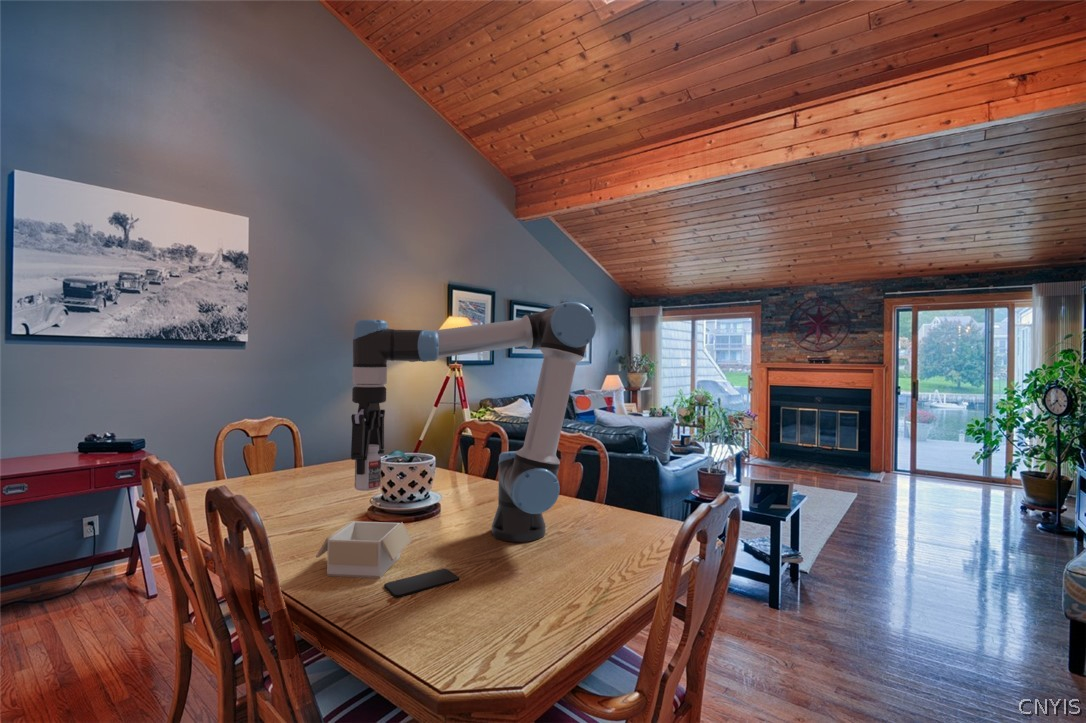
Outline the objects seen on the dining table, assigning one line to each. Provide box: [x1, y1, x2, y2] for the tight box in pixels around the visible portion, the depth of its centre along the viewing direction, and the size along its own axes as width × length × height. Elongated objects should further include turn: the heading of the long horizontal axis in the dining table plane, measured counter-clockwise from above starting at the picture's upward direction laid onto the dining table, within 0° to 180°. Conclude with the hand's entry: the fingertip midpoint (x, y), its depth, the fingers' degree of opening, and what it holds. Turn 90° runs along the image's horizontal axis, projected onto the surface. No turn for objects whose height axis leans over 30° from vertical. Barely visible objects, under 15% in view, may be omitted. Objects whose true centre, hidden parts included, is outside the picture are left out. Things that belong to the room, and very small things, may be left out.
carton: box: [326, 520, 402, 579], centre depth 115 cm, size 12×14×8 cm
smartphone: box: [383, 568, 460, 599], centre depth 106 cm, size 7×1×15 cm
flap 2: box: [381, 521, 413, 561], centre depth 114 cm, size 1×12×5 cm, turn 176°
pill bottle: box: [354, 444, 382, 492], centre depth 115 cm, size 6×6×10 cm
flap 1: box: [315, 520, 354, 558], centre depth 115 cm, size 1×12×5 cm, turn 176°
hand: (367, 484), depth 115 cm, fingers closed on pill bottle, 6 cm apart
